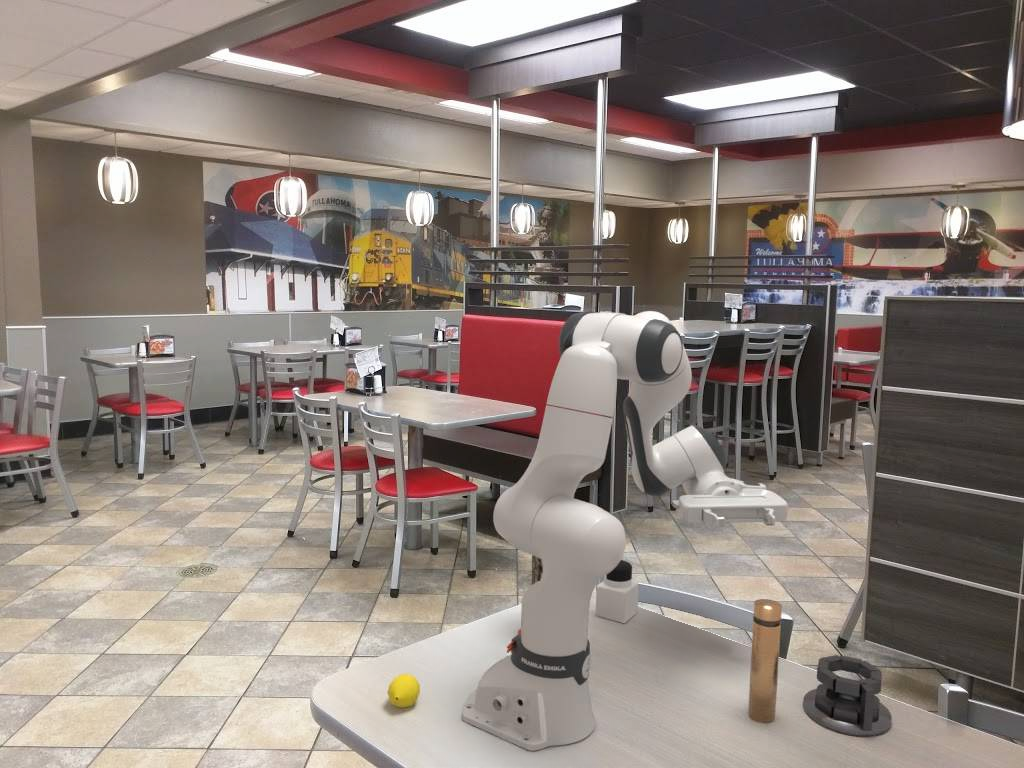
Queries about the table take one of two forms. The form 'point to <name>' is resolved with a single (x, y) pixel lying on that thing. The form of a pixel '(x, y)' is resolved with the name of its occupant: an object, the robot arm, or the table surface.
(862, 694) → the collar stand
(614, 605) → the medicine bottle
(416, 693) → the lemon
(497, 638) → the table surface
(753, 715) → the tube
